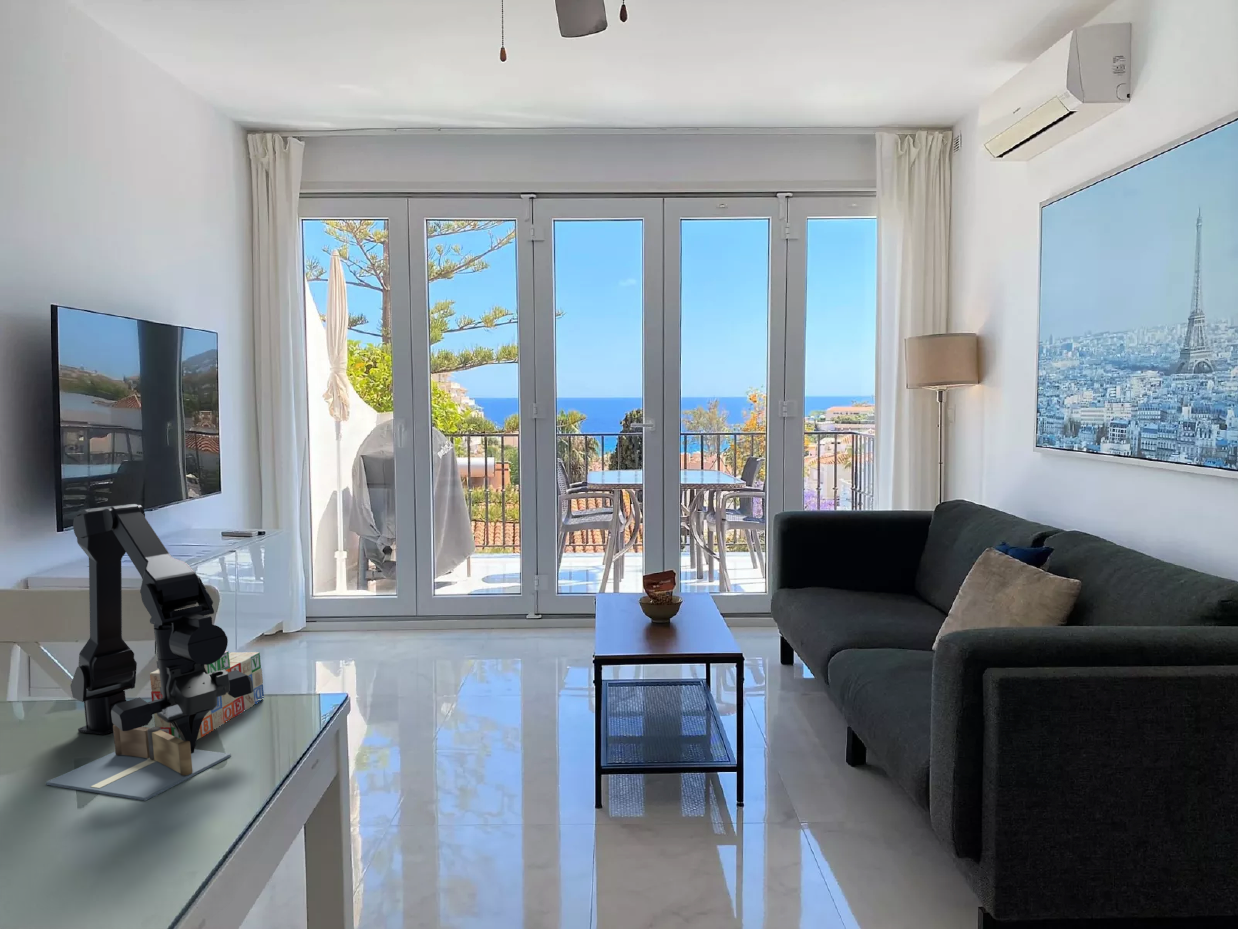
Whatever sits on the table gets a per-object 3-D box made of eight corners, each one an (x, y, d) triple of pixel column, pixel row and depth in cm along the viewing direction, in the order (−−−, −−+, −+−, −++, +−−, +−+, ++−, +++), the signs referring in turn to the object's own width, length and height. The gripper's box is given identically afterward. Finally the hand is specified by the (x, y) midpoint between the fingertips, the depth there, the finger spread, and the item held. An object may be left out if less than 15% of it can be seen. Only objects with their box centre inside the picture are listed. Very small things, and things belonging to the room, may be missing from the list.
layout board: (46, 784, 128) (45, 781, 128) (137, 744, 142) (137, 741, 142) (145, 800, 121) (145, 797, 121) (230, 756, 135) (230, 753, 135)
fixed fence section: (112, 754, 137) (110, 726, 137) (122, 749, 139) (120, 722, 138) (145, 758, 134) (143, 730, 134) (155, 754, 136) (153, 726, 136)
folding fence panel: (148, 758, 135) (145, 729, 134) (160, 754, 136) (157, 725, 136) (182, 776, 127) (180, 746, 127) (195, 772, 128) (192, 742, 128)
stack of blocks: (235, 699, 163) (229, 636, 162) (265, 700, 162) (260, 636, 161) (155, 744, 142) (148, 672, 141) (188, 745, 141) (182, 672, 140)
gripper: (126, 682, 118) (141, 791, 120) (262, 646, 131) (273, 744, 133) (103, 667, 126) (117, 770, 127) (233, 634, 139) (244, 727, 141)
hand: (191, 752), depth 132 cm, fingers closed
